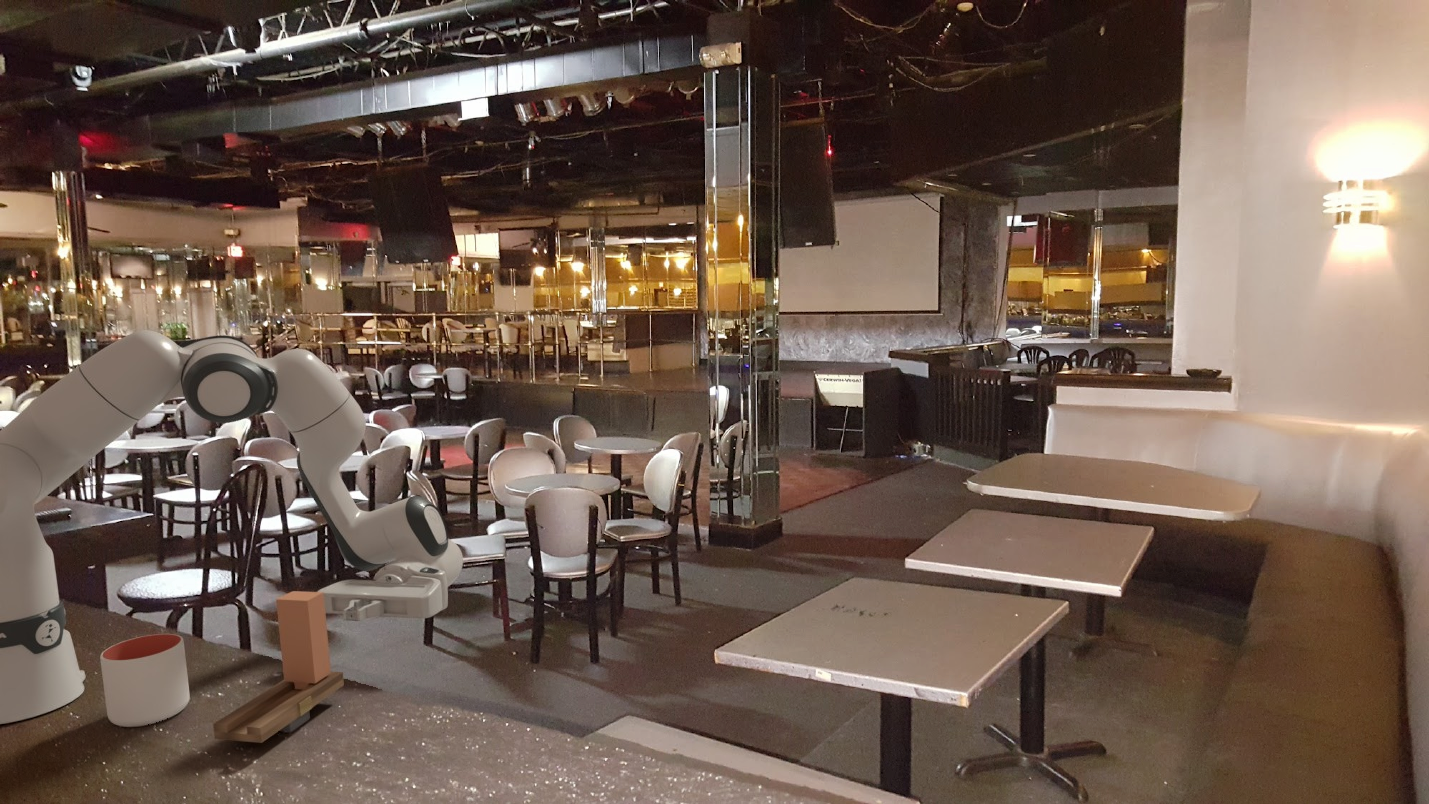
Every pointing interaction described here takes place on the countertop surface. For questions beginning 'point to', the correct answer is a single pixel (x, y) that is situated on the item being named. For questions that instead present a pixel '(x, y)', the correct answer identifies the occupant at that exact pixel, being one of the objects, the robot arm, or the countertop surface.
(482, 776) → the countertop surface
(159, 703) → the cup
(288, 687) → the beam
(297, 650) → the plate
